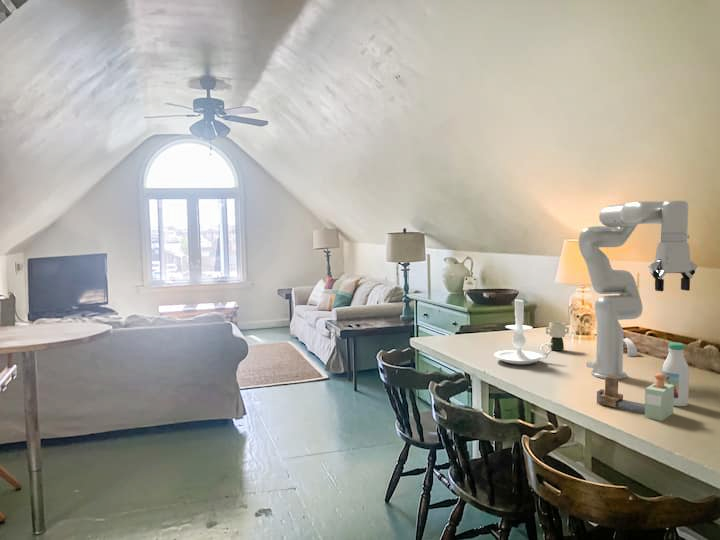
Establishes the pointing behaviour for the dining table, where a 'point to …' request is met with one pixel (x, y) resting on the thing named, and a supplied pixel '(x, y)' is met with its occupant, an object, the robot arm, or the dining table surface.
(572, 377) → the dining table surface
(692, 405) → the dining table surface
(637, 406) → the rail
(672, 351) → the milk bottle
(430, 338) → the dining table surface
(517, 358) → the candlestick
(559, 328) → the character mug
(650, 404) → the cabinet
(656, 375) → the gauge plunger
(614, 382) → the carriage
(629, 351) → the white arch
